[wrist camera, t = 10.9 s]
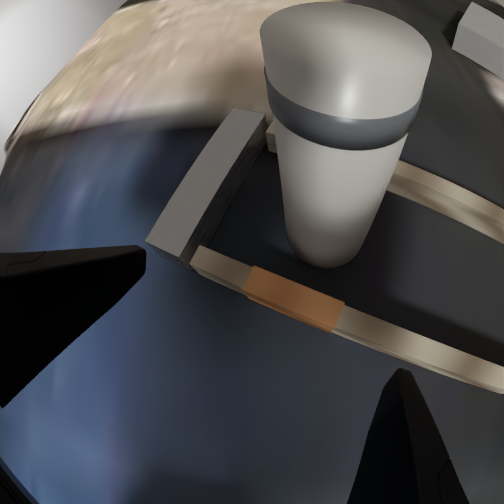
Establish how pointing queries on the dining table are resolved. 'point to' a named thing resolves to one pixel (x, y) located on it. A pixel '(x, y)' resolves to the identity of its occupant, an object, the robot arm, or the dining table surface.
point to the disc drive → (481, 38)
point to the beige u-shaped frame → (291, 293)
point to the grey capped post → (339, 118)
